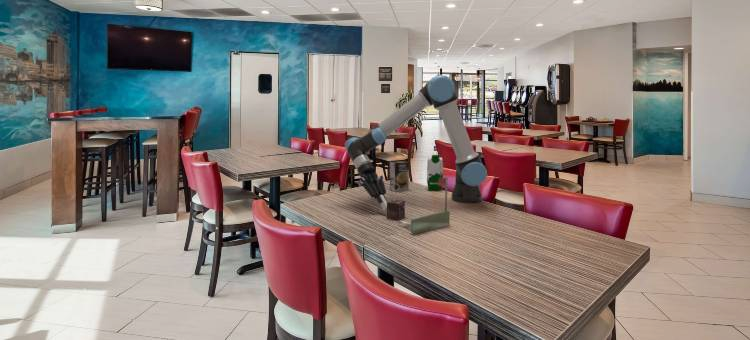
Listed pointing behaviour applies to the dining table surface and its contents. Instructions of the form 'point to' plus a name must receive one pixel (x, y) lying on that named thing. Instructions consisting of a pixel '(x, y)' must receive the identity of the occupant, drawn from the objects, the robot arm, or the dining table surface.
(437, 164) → the milk carton
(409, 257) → the dining table surface
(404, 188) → the coffee box
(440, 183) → the green bar with posts
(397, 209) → the box
